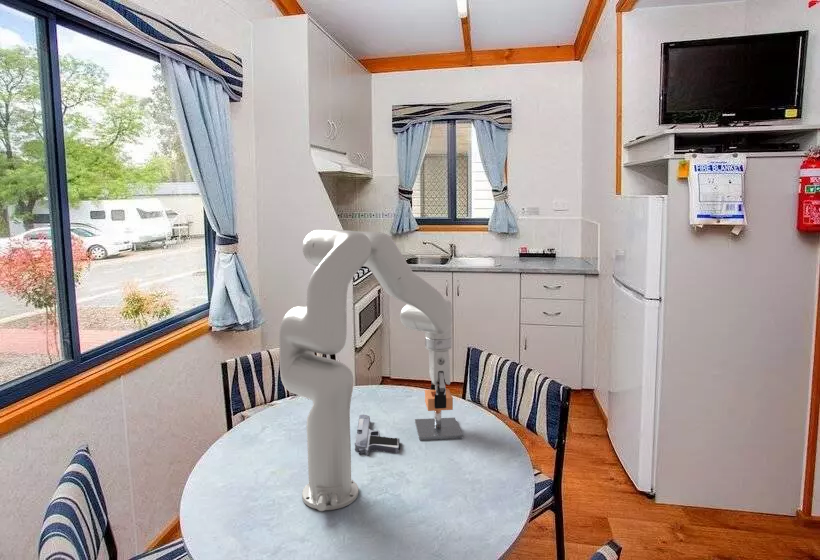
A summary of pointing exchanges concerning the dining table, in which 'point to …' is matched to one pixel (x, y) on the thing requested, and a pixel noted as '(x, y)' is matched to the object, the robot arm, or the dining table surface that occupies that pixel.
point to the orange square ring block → (431, 400)
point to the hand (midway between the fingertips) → (438, 402)
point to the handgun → (373, 439)
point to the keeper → (437, 428)
